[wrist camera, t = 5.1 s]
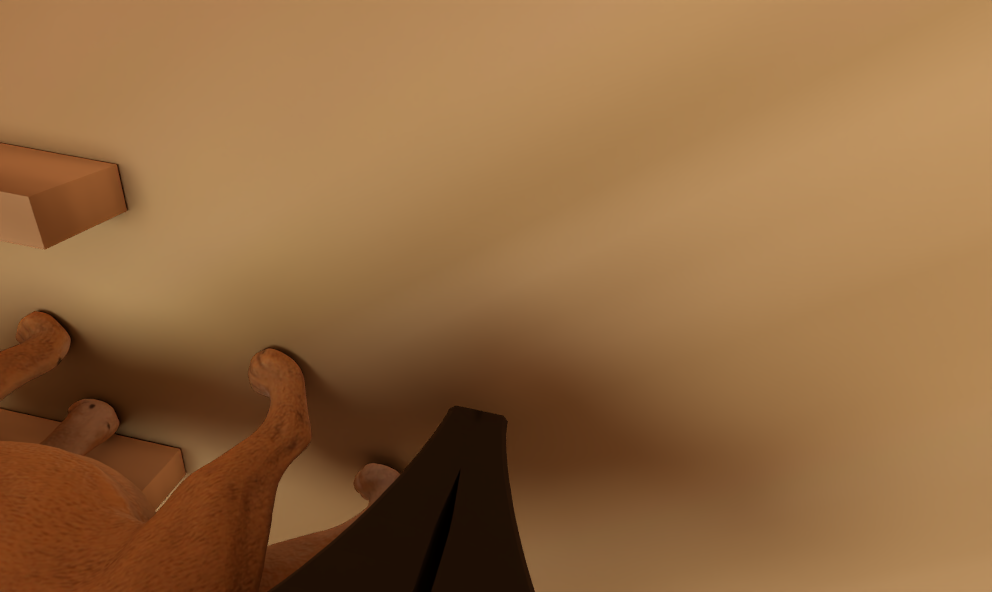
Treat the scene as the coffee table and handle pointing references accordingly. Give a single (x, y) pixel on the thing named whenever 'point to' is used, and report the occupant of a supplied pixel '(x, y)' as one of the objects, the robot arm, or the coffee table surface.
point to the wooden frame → (46, 222)
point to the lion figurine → (127, 511)
